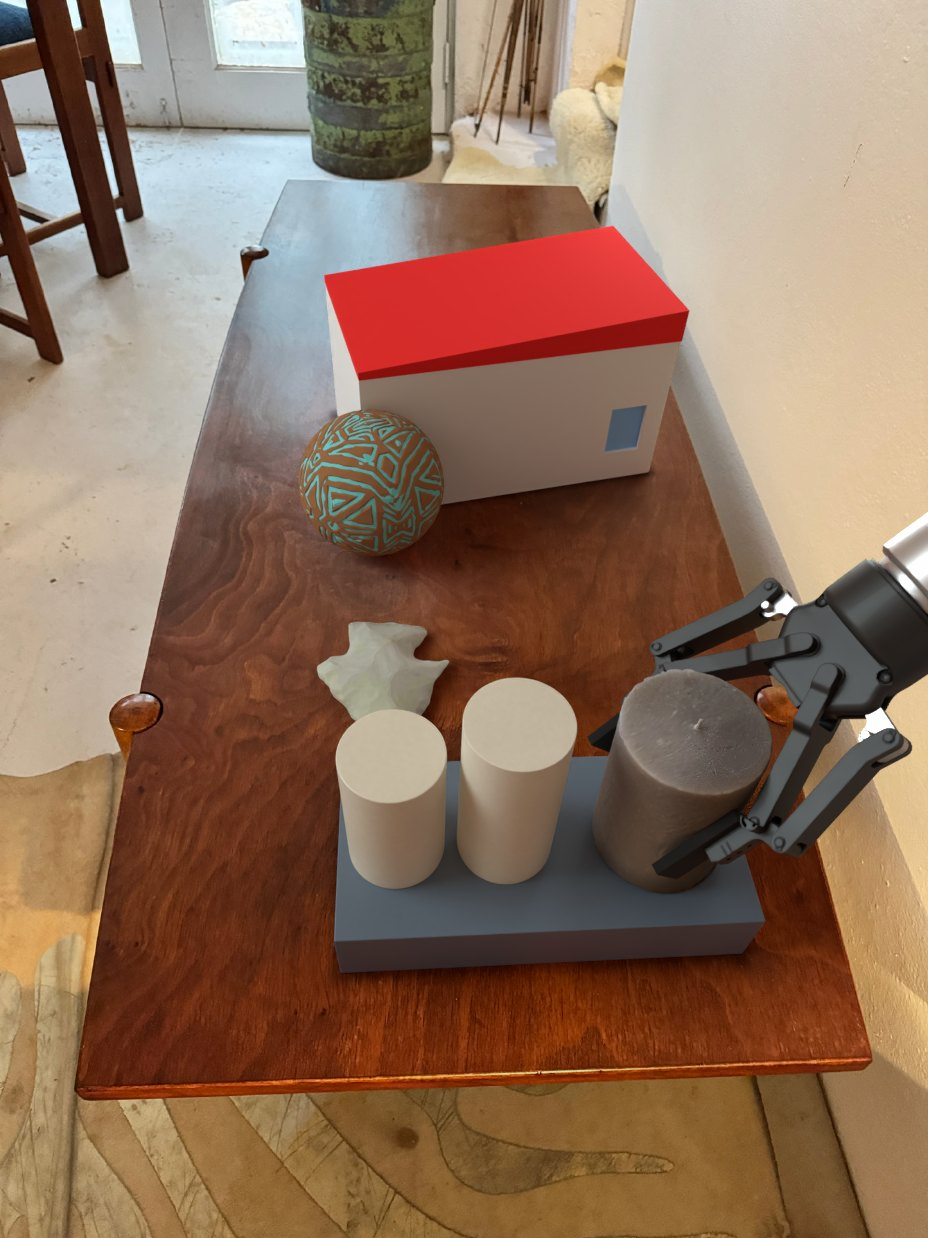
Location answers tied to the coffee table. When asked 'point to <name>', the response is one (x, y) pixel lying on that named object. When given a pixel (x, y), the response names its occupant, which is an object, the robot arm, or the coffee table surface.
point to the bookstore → (514, 358)
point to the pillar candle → (676, 772)
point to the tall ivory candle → (512, 777)
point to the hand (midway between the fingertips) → (630, 805)
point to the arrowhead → (381, 670)
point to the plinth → (537, 904)
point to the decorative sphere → (371, 482)
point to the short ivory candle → (393, 796)
